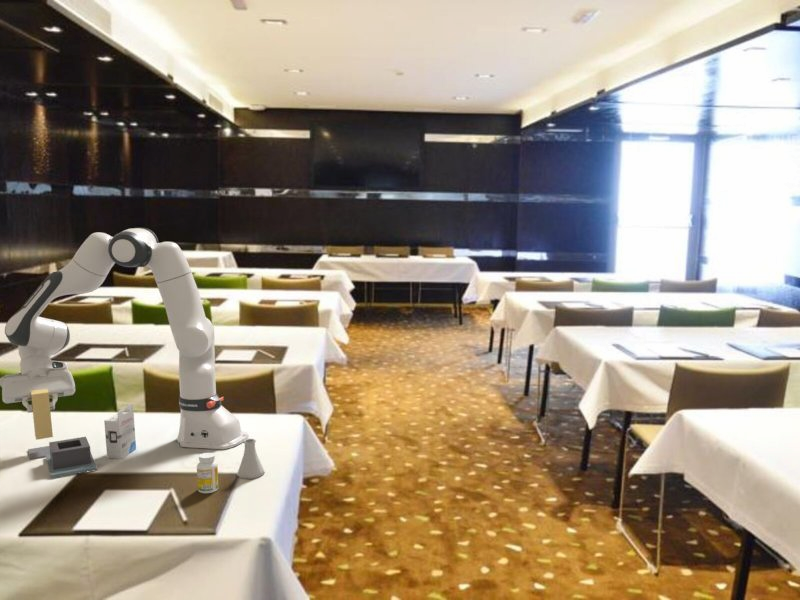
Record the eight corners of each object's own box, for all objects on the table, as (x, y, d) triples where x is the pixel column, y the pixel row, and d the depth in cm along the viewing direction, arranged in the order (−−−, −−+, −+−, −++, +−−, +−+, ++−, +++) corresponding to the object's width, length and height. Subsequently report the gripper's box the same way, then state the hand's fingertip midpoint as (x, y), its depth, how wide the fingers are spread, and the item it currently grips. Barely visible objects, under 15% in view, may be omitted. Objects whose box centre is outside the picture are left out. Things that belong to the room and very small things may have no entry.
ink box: (122, 448, 232) (119, 402, 230) (136, 449, 231) (133, 402, 229) (106, 458, 224) (102, 410, 222) (121, 459, 223) (117, 411, 221)
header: (50, 458, 221) (49, 442, 221) (87, 452, 226) (85, 436, 225) (53, 469, 213) (52, 452, 212) (91, 463, 217) (90, 446, 217)
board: (46, 458, 225) (45, 455, 224) (89, 451, 230) (88, 447, 230) (51, 478, 209) (50, 475, 209) (97, 470, 215) (96, 466, 214)
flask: (251, 481, 206) (250, 446, 204) (232, 476, 209) (230, 442, 208) (269, 473, 212) (268, 438, 210) (250, 468, 215) (249, 434, 214)
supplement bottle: (205, 495, 196) (204, 460, 195) (193, 490, 200) (191, 455, 198) (222, 489, 201) (221, 454, 199) (210, 484, 204) (208, 450, 202)
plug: (35, 435, 230) (30, 390, 227) (51, 432, 232) (47, 388, 230) (36, 439, 226) (31, 394, 223) (52, 437, 228) (48, 392, 226)
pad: (28, 450, 231) (28, 449, 231) (60, 445, 236) (60, 444, 236) (29, 459, 224) (29, 458, 223) (62, 454, 228) (62, 452, 228)
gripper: (-2, 370, 227) (2, 409, 220) (72, 362, 236) (77, 399, 229) (-1, 381, 231) (3, 420, 224) (71, 372, 241) (77, 410, 234)
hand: (41, 410), depth 227 cm, fingers closed on plug, 5 cm apart
